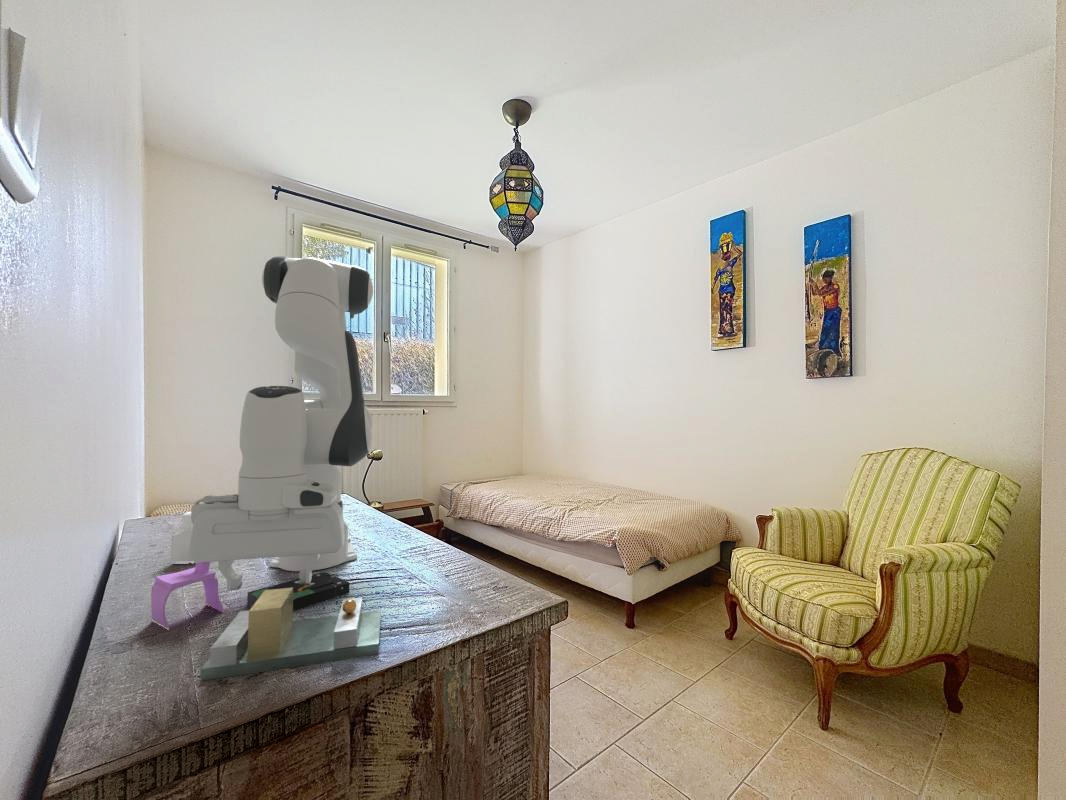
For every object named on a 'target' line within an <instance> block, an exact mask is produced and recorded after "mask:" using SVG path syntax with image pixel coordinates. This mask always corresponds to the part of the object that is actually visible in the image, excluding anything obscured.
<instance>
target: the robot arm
mask: <svg viewBox="0 0 1066 800" xmlns="http://www.w3.org/2000/svg"><path fill="white" fill-rule="evenodd" d="M261 275H262V276H261V281H262V282H261V283H262V286H263V287H262V288H263V289H264V294H265V295H266V297H267V298H268V299H269V300H270V301H271V302H272V303H274V304H276V306H275V311H274V313H275V314H274V327H275V331H276V332H277V334H278V336H279V338H280V339H281V340H282V341H283V342H284V344H286V345H287V346H288V347H289V348H290V349H292V350H294V373H295V374H296V377H298V378H299V379H300V380H301V381H303V382H305V383H307V384H308V385H310V386H312V387H315V388H316V389H317V390H318V391H319V395H320V397H319V399H305V395H304V391H303V390H302V389H300V388H297V387H294V386H293V387H292V386H284V385H282V386H281V385H269V386H258V387H254V388H252V389H251V390H249V391H247V392H246V393H247V394H246V395H245V398H244V402H243V407H242V411H241V412H242V413H241V421H240V429H239V430H240V431H239V448H240V449H239V450H240V453H241V456H242V457H241V459H242V460H241V466H240V468H239V472H238V482H237V483H238V486H237V487H238V489H237V494H223V495H213V494H210V495H205V496H203V498H200V499H198V500H196V501H195V502H194V503H193V505H192V507H191V509H190V511H191V521H192V523H193V524H194V526H193V529H192V534H191V539H190V545H189V557H190V558H191V559H192V560H193V561H194V562H195V563H199V562H210V563H212V562H218V564H217V565H218V566H217V569H218V571H219V572H220V574H222V576H223V578H224V579H225V580H226V590H227V591H230V592H231V591H238V590H240V589H241V588H242V586H243V581H242V580H243V574H242V573H240V574H239V573H238V574H237V573H236V571H235V569H234V568H233V567H232V565H233V564H234V563H235V561H239V560H241V561H242V560H252V559H254V560H255V559H267V558H274V559H272V560H271V561H270V564H269V567H271V568H280V569H282V570H284V571H287V572H288V571H289V572H299V573H298V579H299V578H300V580H299V584H309V583H310V582H311V578H312V575H313V573H312V572H313V571H317V570H323V569H327V568H332V567H335V566H338V565H341V564H343V563H345V562H350V561H353V560H356V559H357V558H358V554H357V551H356V550H355V548H354V545H353V544H352V542H351V538H350V537H349V525H348V524H347V522H346V521H345V520H344V513H343V512H344V511H343V510H344V505H343V501H342V499H341V498H342V472H341V469H340V468H339V466H341V467H353V466H355V465H356V464H357V463H359V462H361V461H362V460H363V459H364V458H366V457H367V455H369V453H370V450H371V447H372V436H373V435H372V427H373V417H372V413H371V412H370V410H369V408H368V406H366V405H365V397H364V391H363V384H362V383H363V382H362V375H361V368H360V367H361V366H360V359H359V353H358V348H357V344H356V341H355V340H356V339H355V338H354V336H353V334H352V333H351V332H349V331H348V330H347V321H346V313H349V317H350V318H349V319H354V318H355V315H358V314H362V313H363V312H364V311H366V310H367V309H369V305H370V304H371V302H372V298H373V296H374V286H373V282H372V279H371V277H370V276H371V275H370V273H369V272H368V271H367V269H366V268H362V267H360V266H357V265H354V264H352V265H349V264H346V263H345V264H344V263H341V262H336V261H332V260H327V259H320V258H317V257H309V256H308V257H302V258H299V257H289V256H288V255H287V256H286V255H284V256H282V255H281V256H274V257H271V258H270V259H269V260H267V261H266V263H265V265H264V268H263V271H262V274H261Z"/></svg>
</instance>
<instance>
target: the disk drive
mask: <svg viewBox="0 0 1066 800" xmlns="http://www.w3.org/2000/svg"><path fill="white" fill-rule="evenodd" d="M299 580H300V578H299V577H298V578H297V579H292V580H289V581H284V582H281V583H276V584H274V585H270V586H267V587H262V588H259V589H255V590H252V591H248V592H247V595H246V596H247V599H246V600H247V603H246V604H247V605H248V606H249V607H250V608H252V606H253V605H254V604H255V602H256V601H257V600H258V599H259V597H260V596H261V595H262V593H263V592H264V591H265V590H273V589H282V588H292V587H293V612H296V611H298V610H302V609H304V608H308V607H310V606H314V605H317V604H320V603H323V602H326V600H327V601H329V600H334V599H335V598H338V597H343V596H345V595H348V594H350V584H351V583H350V582H349V581H347V580H344V579H343V578H340V577H338V576H336V575H334V576H332V575H331V573H329V572H327V571H322V572H317V573H314V574H312V578H311V582H310V583H309V584H299ZM347 593H348V594H347ZM301 608H302V609H301Z"/></svg>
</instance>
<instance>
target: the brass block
mask: <svg viewBox="0 0 1066 800" xmlns="http://www.w3.org/2000/svg"><path fill="white" fill-rule="evenodd" d="M293 618H294V611H293V587H292V588H282V589H273V590H265V591H264V592H263V593H262V595H261V596H260V597H259V599H258V600H257V601H256V602H255V604H254V605H253V606H252V607H250V609H249V621H248V655H254V654H261V653H269V652H276V651H280V650H281V648H282V646H283V644H284V642H285V640H286V638H287V636H288V634H289V632H290V630H291V628H292V626H293V621H294V619H293Z"/></svg>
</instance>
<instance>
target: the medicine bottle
mask: <svg viewBox="0 0 1066 800" xmlns="http://www.w3.org/2000/svg"><path fill="white" fill-rule="evenodd" d="M193 526H194V524H193V523H192V521H191V510H188V511H185V512H184V513H183V514H182V515H181V529H182V531H180V532H176V533H174V534H172V536H171V558H170V559H171V561H193V560H192V559H191V558H190V557H189V545H190V539H191V534H192V529H193Z"/></svg>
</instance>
